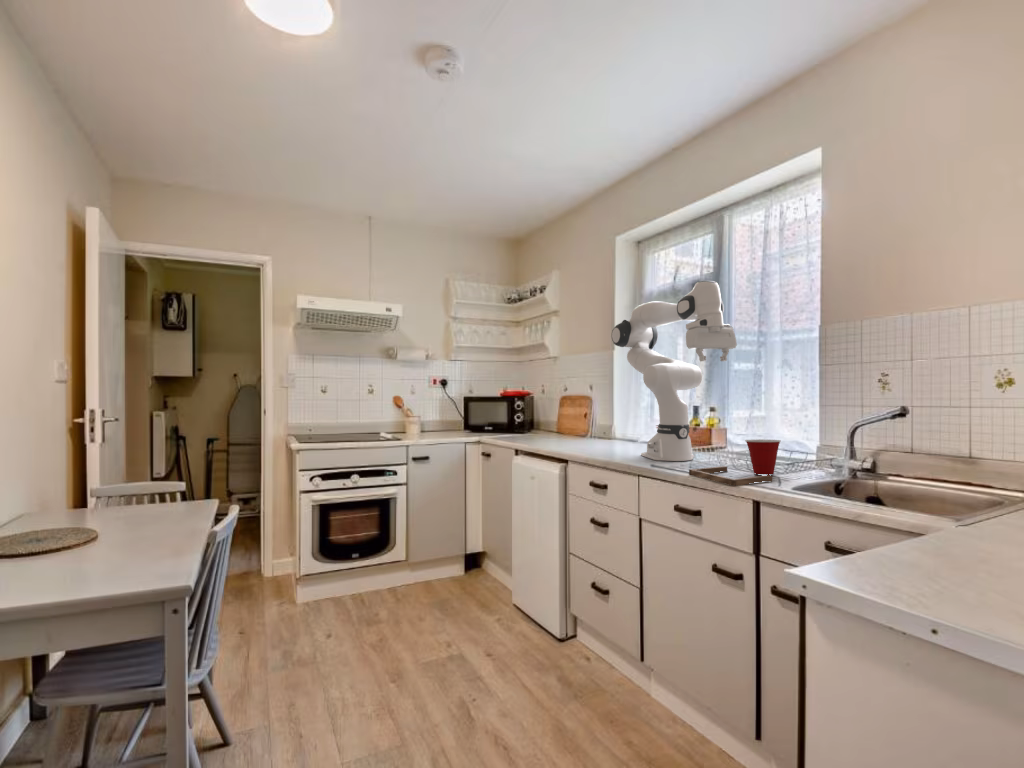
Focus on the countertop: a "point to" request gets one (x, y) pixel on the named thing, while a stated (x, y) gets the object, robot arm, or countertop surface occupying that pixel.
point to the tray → (733, 482)
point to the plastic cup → (763, 455)
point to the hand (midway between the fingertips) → (713, 361)
